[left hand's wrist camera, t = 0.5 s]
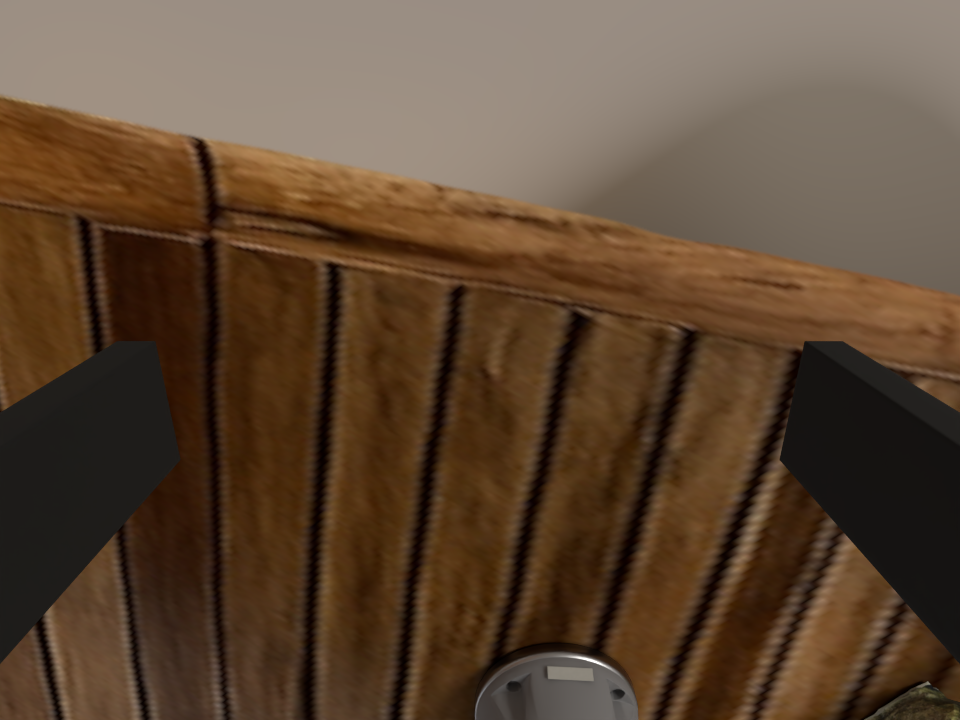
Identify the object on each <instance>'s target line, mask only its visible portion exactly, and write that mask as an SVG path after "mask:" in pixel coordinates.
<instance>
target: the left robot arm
mask: <svg viewBox="0 0 960 720" xmlns="http://www.w3.org/2000/svg"><path fill="white" fill-rule="evenodd" d="M179 461H180V456H179V451H178V446H177V442H176V437H175V432H174V427H173V423H172V418H171V413H170V409H169V404H168V399H167V394H166V390H165V385H164V380H163V376H162V371H161V366H160V362H159V357H158V352H157V347H156V343H155V341H117V342H115V343H114V344H112V345H111V346H109V347H107V348H106V349H104V350H102V351H101V352H99V353H97V354H96V355H94V356H92V357H91V358H89V359H88V360H86V361H84V362H83V363H81V364H79V365H78V366H76V367H74V368H73V369H71V370H69V371H68V372H66V373H65V374H63V375H61V376H60V377H58V378H56V379H55V380H53V381H51V382H50V383H48V384H46V385H45V386H43V387H42V388H40V389H38V390H37V391H35V392H33V393H32V394H30V395H28V396H27V397H25V398H23V399H22V400H20V401H19V402H17V403H15V404H14V405H12V406H10V407H9V408H7V409H5V410H4V411H2V412H0V663H1V662H2V661H3V660H4V659H5V658H6V657H7V655H8V654H9V653H10V652H11V651H12V650H13V649H14V648H15V646H16V645H17V644H18V643H19V642H20V641H21V640H22V638H23V637H24V636H25V635H26V634H27V633H28V632H29V631H30V629H31V628H32V627H33V626H34V625H35V624H36V623H37V621H38V620H39V619H40V618H41V617H42V616H43V615H44V614H45V612H46V611H47V610H48V609H49V608H50V607H51V606H52V605H53V603H54V602H55V601H56V600H57V599H58V598H59V597H60V595H61V594H62V593H63V592H64V591H65V590H66V589H67V588H68V586H69V585H70V584H71V583H72V582H73V581H74V580H75V578H76V577H77V576H78V575H79V574H80V573H81V572H82V571H83V569H84V568H85V567H86V566H87V565H88V564H89V563H90V561H91V560H92V559H93V558H94V557H95V556H96V555H97V554H98V552H99V551H100V550H101V549H102V548H103V547H104V546H105V545H106V543H107V542H108V541H109V540H110V539H111V538H112V537H113V535H114V534H115V533H116V532H117V531H118V530H119V529H120V528H121V526H122V525H123V524H124V523H125V522H126V521H127V520H128V518H129V517H130V516H131V515H132V514H133V513H134V512H135V511H136V509H137V508H138V507H139V506H140V505H141V504H142V503H143V501H144V500H145V499H146V498H147V497H148V496H149V495H150V494H151V492H152V491H153V490H154V489H155V488H156V487H157V486H158V485H159V483H160V482H161V481H162V480H163V479H164V478H165V477H166V475H167V474H168V473H169V472H170V471H171V470H172V469H173V468H174V466H175V465H176V464H177V463H178V462H179ZM780 461H781V462H782V463H783V464H784V465H785V466H786V468H787V469H788V470H789V471H790V472H791V473H792V474H793V475H794V477H795V478H796V479H797V480H798V481H799V482H800V483H801V485H802V486H803V487H804V488H805V489H806V490H807V491H808V492H809V494H810V495H811V496H812V497H813V498H814V499H815V500H816V501H817V503H818V504H819V505H820V506H821V507H822V508H823V509H824V511H825V512H826V513H827V514H828V515H829V516H830V517H831V518H832V520H833V521H834V522H835V523H836V524H837V525H838V526H839V528H840V529H841V530H842V531H843V532H844V533H845V534H846V535H847V537H848V538H849V539H850V540H851V541H852V542H853V543H854V545H855V546H856V547H857V548H858V549H859V550H860V551H861V552H862V554H863V555H864V556H865V557H866V558H867V559H868V560H869V561H870V563H871V564H872V565H873V566H874V567H875V568H876V569H877V571H878V572H879V573H880V574H881V575H882V576H883V577H884V578H885V580H886V581H887V582H888V583H889V584H890V585H891V586H892V588H893V589H894V590H895V591H896V592H897V593H898V594H899V595H900V597H901V598H902V599H903V600H904V601H905V602H906V603H907V605H908V606H909V607H910V608H911V609H912V610H913V611H914V612H915V614H916V615H917V616H918V617H919V618H920V619H921V620H922V621H923V623H924V624H925V625H926V626H927V627H928V628H929V629H930V631H931V632H932V633H933V634H934V635H935V636H936V637H937V638H938V640H939V641H940V642H941V643H942V644H943V645H944V646H945V648H946V649H947V650H948V651H949V652H950V653H951V654H952V655H953V657H954V658H955V659H956V660H957V661H958V662H959V663H960V412H958V411H956V410H955V409H953V408H951V407H950V406H948V405H946V404H945V403H943V402H941V401H940V400H938V399H937V398H935V397H933V396H932V395H930V394H928V393H927V392H925V391H923V390H922V389H920V388H918V387H917V386H915V385H914V384H912V383H910V382H909V381H907V380H905V379H904V378H902V377H900V376H899V375H897V374H895V373H894V372H892V371H891V370H889V369H887V368H886V367H884V366H882V365H881V364H879V363H877V362H876V361H874V360H872V359H871V358H869V357H868V356H866V355H864V354H863V353H861V352H859V351H858V350H856V349H854V348H853V347H851V346H849V345H848V344H846V343H845V342H843V341H805V343H804V347H803V352H802V357H801V362H800V366H799V371H798V376H797V380H796V385H795V390H794V394H793V399H792V404H791V409H790V413H789V418H788V423H787V427H786V432H785V437H784V442H783V446H782V451H781V456H780ZM475 720H638V705H637V700H636V696H635V692H634V689H633V685H632V682H631V680H630V678H629V676H628V674H627V673H626V671H625V670H624V669H623V668H622V667H621V666H620V665H619V664H618V663H617V662H616V661H615V660H613V659H612V658H610V657H609V656H607V655H605V654H604V653H601V652H599V651H597V650H594V649H592V648H589V647H585V646H581V645H575V644H567V643H550V644H541V645H536V646H531V647H527V648H524V649H521V650H519V651H516V652H514V653H512V654H510V655H508V656H506V657H504V658H503V659H501V660H500V661H498V662H497V663H496V664H495V665H493V666H492V667H491V668H490V669H489V670H488V672H487V673H486V674H485V675H484V677H483V678H482V680H481V682H480V684H479V686H478V689H477V692H476V698H475Z"/></svg>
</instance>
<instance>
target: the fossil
mask: <svg viewBox="0 0 960 720" xmlns="http://www.w3.org/2000/svg"><path fill="white" fill-rule="evenodd" d="M864 720H960V702H957V701H953V700H950V699H947V698H946V697H945V696H944V694H943V693H942V692H940V691H939V690H938V689H936V688H934V687H932V686H931V684H930V683H929V682H926V683H923V684H921V685H919V686H916V687H914V688H912V689H910V690H909V691H908V692H906V693H905V694H903V695H901V696H899V697H897V698H896V699H894V700H893V701H892V702H890V703H889V704H887V705H885V706H884V707H882V708H880V709H878V711H877V712H876V713H875V714H874V715H872V716H870V717H868V718H866V719H864Z"/></svg>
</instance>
